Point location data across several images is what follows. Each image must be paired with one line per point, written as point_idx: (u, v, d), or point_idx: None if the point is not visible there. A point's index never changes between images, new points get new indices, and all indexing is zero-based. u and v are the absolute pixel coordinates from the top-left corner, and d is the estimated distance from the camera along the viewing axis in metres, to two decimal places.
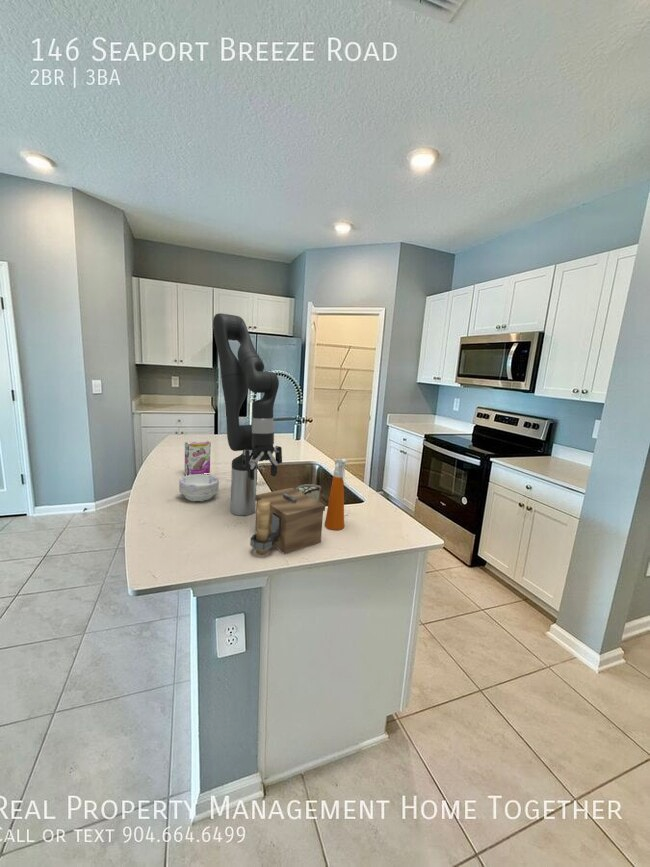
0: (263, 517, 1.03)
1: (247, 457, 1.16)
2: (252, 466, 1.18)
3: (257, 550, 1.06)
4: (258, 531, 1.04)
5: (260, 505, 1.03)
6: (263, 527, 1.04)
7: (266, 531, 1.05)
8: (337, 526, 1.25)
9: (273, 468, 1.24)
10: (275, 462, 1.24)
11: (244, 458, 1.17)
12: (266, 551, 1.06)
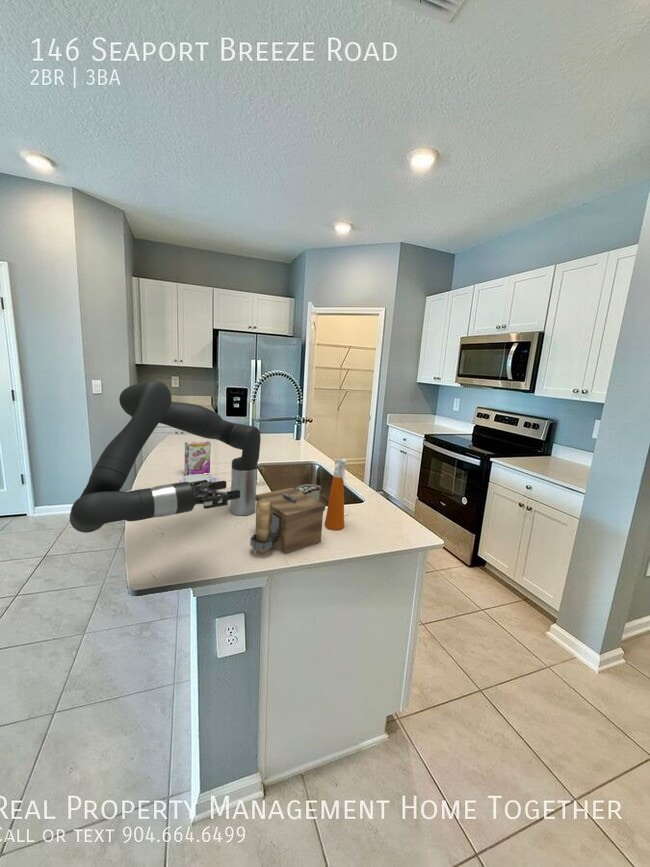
0: (263, 517, 1.03)
1: None
2: None
3: (257, 550, 1.06)
4: (258, 531, 1.04)
5: (260, 505, 1.03)
6: (263, 527, 1.04)
7: (266, 531, 1.05)
8: (337, 526, 1.25)
9: None
10: None
11: None
12: (266, 551, 1.06)
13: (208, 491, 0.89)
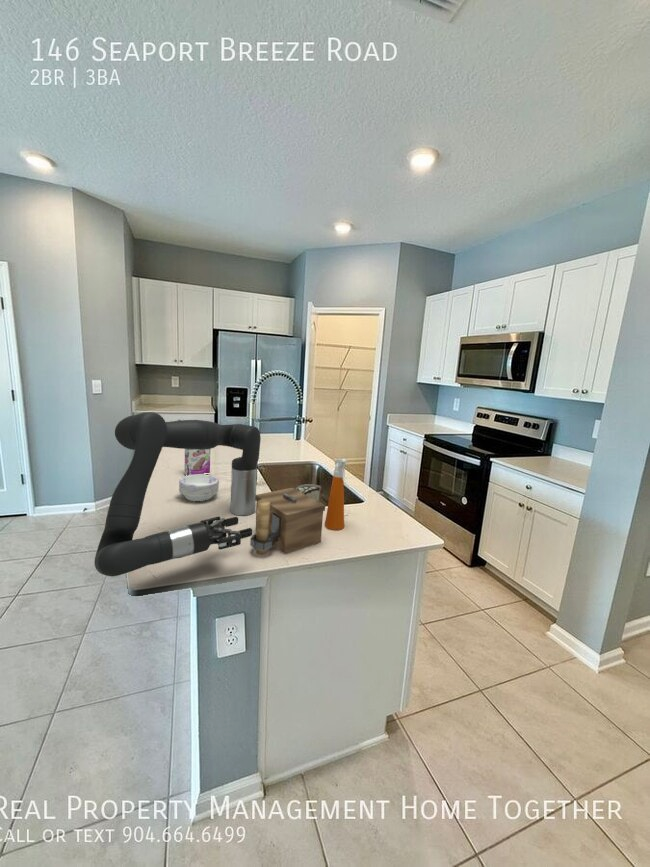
0: (263, 517, 1.03)
1: None
2: None
3: (257, 550, 1.06)
4: (258, 531, 1.04)
5: (260, 505, 1.03)
6: (263, 527, 1.04)
7: (266, 531, 1.05)
8: (337, 526, 1.25)
9: None
10: None
11: None
12: (266, 551, 1.06)
13: (222, 531, 0.94)
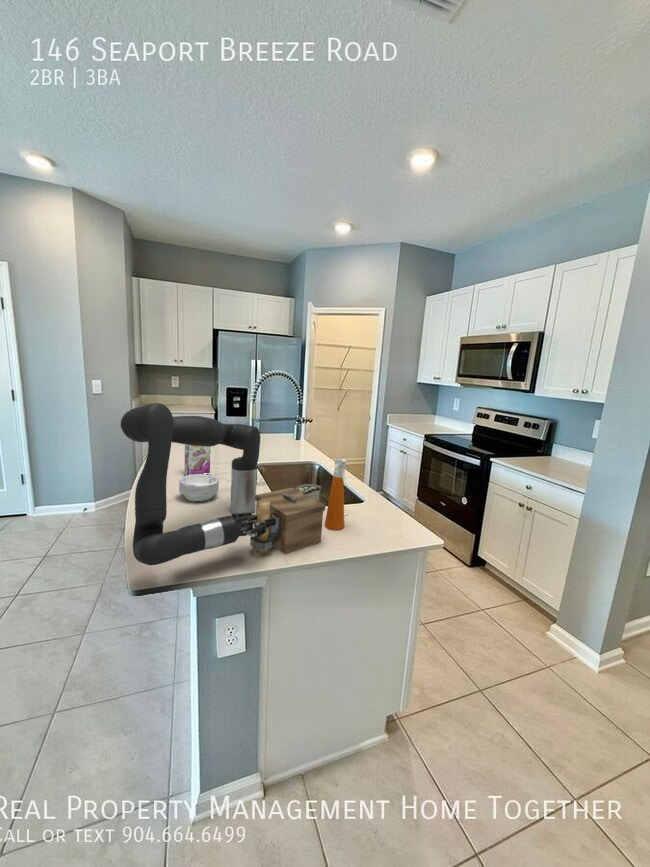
0: (263, 517, 1.03)
1: None
2: None
3: (257, 550, 1.06)
4: None
5: (260, 505, 1.03)
6: None
7: (266, 531, 1.05)
8: (337, 526, 1.25)
9: None
10: None
11: None
12: (266, 551, 1.06)
13: (250, 523, 1.00)
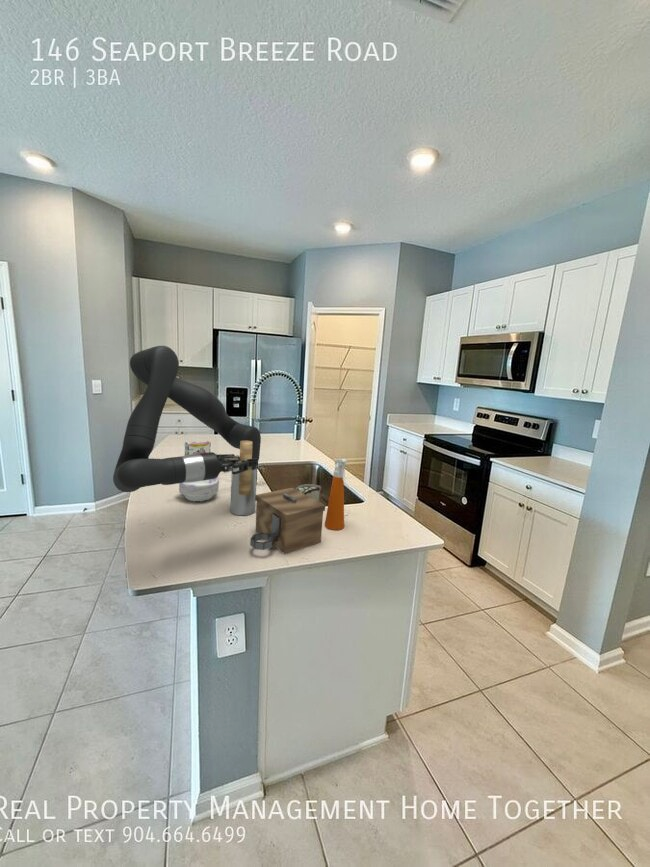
0: (246, 456, 1.04)
1: None
2: None
3: (240, 490, 1.06)
4: None
5: (242, 444, 1.03)
6: None
7: (249, 471, 1.05)
8: (337, 526, 1.25)
9: None
10: None
11: None
12: (249, 492, 1.07)
13: (232, 460, 1.01)
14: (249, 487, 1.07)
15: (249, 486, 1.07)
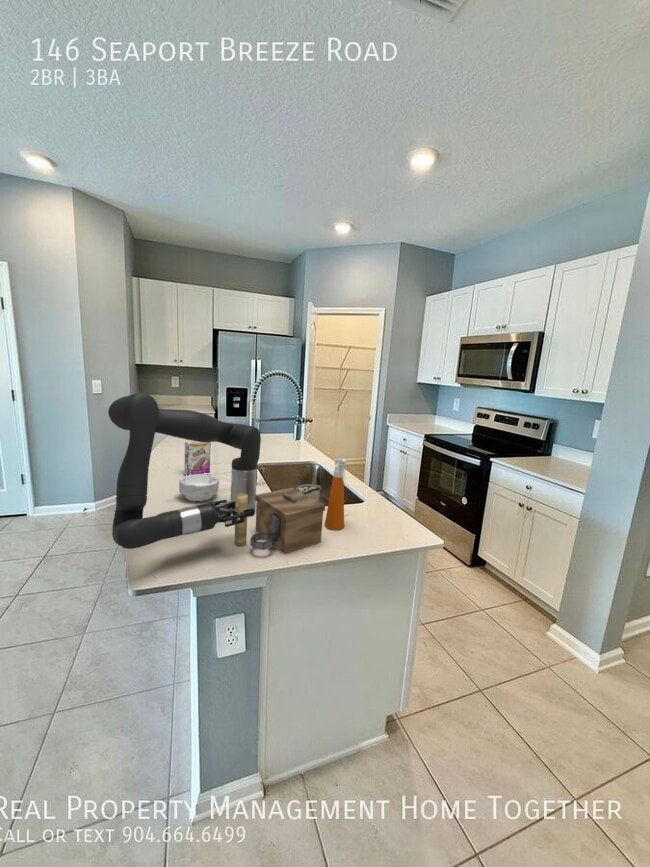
0: (241, 510, 1.07)
1: None
2: None
3: (235, 542, 1.10)
4: None
5: (238, 498, 1.07)
6: None
7: (244, 523, 1.09)
8: (337, 526, 1.25)
9: None
10: None
11: None
12: (244, 543, 1.10)
13: (227, 511, 1.03)
14: (244, 538, 1.10)
15: (244, 537, 1.10)
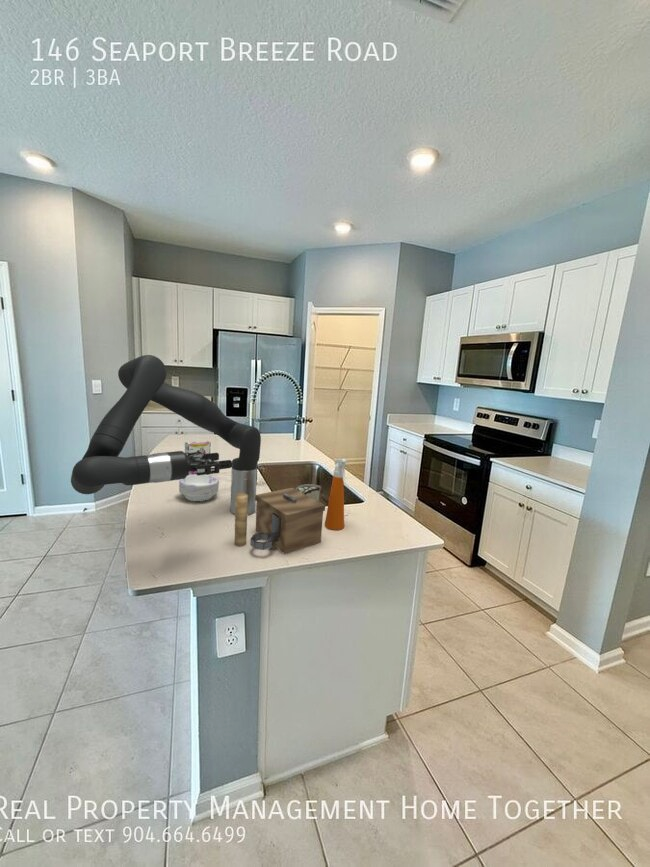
0: (241, 510, 1.07)
1: None
2: None
3: (235, 542, 1.10)
4: (236, 523, 1.08)
5: (238, 498, 1.07)
6: (241, 519, 1.08)
7: (244, 523, 1.09)
8: (337, 526, 1.25)
9: None
10: None
11: None
12: (244, 543, 1.10)
13: (201, 460, 0.95)
14: (244, 538, 1.10)
15: (244, 537, 1.10)
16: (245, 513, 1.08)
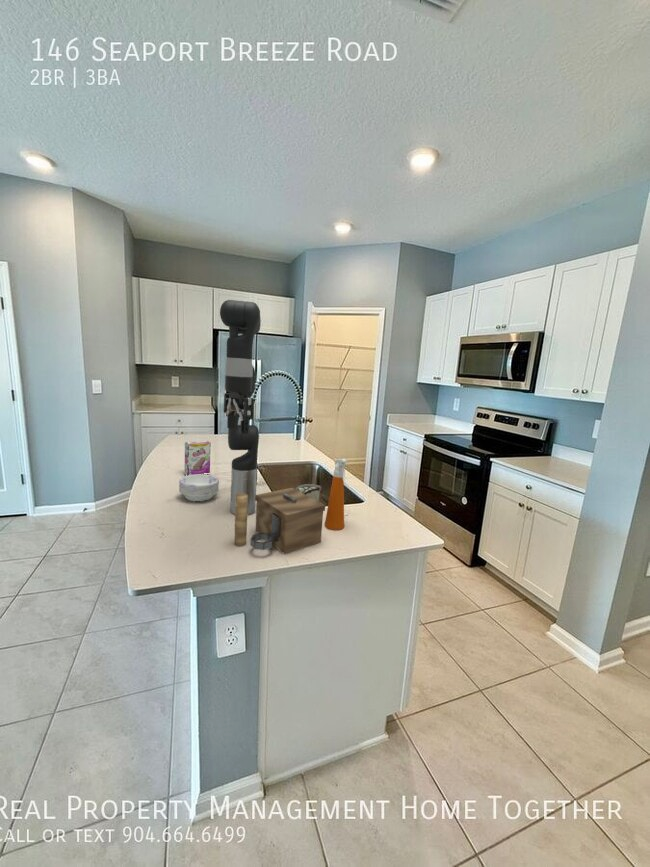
0: (241, 510, 1.07)
1: (224, 401, 1.06)
2: (227, 412, 1.05)
3: (235, 542, 1.10)
4: (236, 523, 1.08)
5: (238, 498, 1.07)
6: (241, 519, 1.08)
7: (244, 523, 1.09)
8: (337, 526, 1.25)
9: None
10: (241, 416, 0.98)
11: None
12: (244, 543, 1.10)
13: None
14: (244, 538, 1.10)
15: (244, 537, 1.10)
16: (245, 513, 1.08)
